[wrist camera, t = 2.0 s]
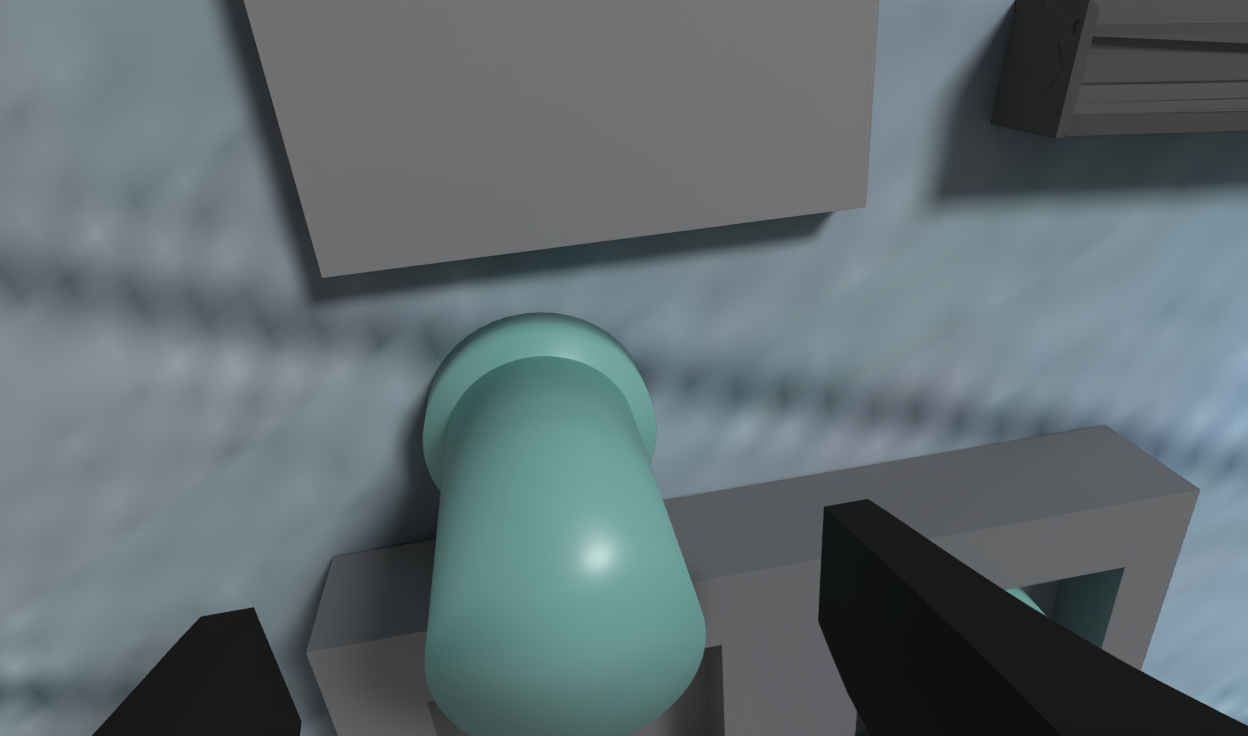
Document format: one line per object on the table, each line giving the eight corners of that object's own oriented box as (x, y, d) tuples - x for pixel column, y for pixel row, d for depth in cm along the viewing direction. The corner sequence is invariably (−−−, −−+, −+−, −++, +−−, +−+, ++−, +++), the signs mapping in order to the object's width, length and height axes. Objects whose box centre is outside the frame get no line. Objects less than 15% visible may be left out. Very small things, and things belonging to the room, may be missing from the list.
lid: (845, 196, 13) (865, 206, 13) (332, 261, 12) (322, 277, 12) (867, -221, 11) (894, -237, 10) (210, -178, 10) (188, -192, 9)
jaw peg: (653, 485, 15) (739, 737, 10) (449, 519, 15) (428, 801, 10) (638, 297, 14) (734, 486, 8) (405, 330, 13) (348, 552, 8)
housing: (1038, 699, 21) (1104, 782, 19) (424, 828, 19) (416, 937, 17) (1105, 425, 17) (1200, 489, 15) (333, 556, 15) (306, 653, 13)
